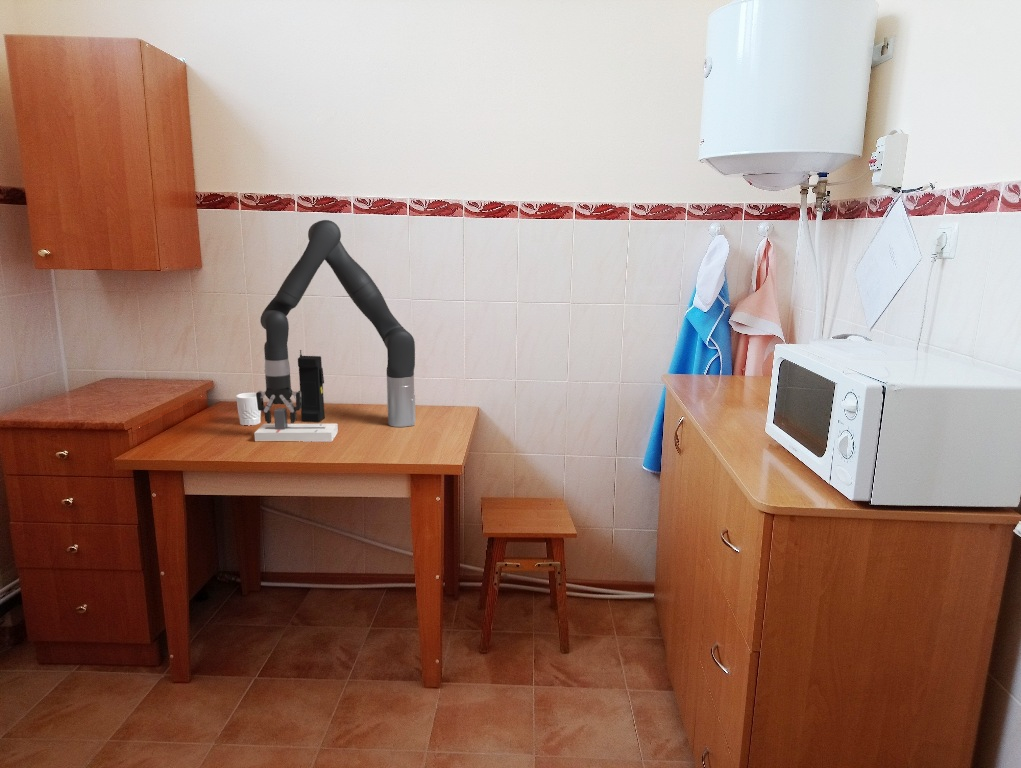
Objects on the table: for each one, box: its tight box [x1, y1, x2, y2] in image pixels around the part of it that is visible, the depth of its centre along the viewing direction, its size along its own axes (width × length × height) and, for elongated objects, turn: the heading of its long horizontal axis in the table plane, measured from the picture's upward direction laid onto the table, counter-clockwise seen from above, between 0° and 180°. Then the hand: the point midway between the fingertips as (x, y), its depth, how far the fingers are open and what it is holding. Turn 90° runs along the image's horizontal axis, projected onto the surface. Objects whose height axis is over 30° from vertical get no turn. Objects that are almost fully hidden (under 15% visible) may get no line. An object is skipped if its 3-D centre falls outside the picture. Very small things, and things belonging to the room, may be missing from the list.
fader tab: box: [273, 407, 288, 429], centre depth 222 cm, size 3×4×6 cm
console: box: [254, 422, 339, 443], centre depth 223 cm, size 24×10×3 cm, turn 93°
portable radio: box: [297, 349, 326, 423], centre depth 240 cm, size 8×6×25 cm
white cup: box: [235, 392, 262, 427], centre depth 237 cm, size 8×8×10 cm
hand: (280, 422), depth 222 cm, fingers open, 7 cm apart
